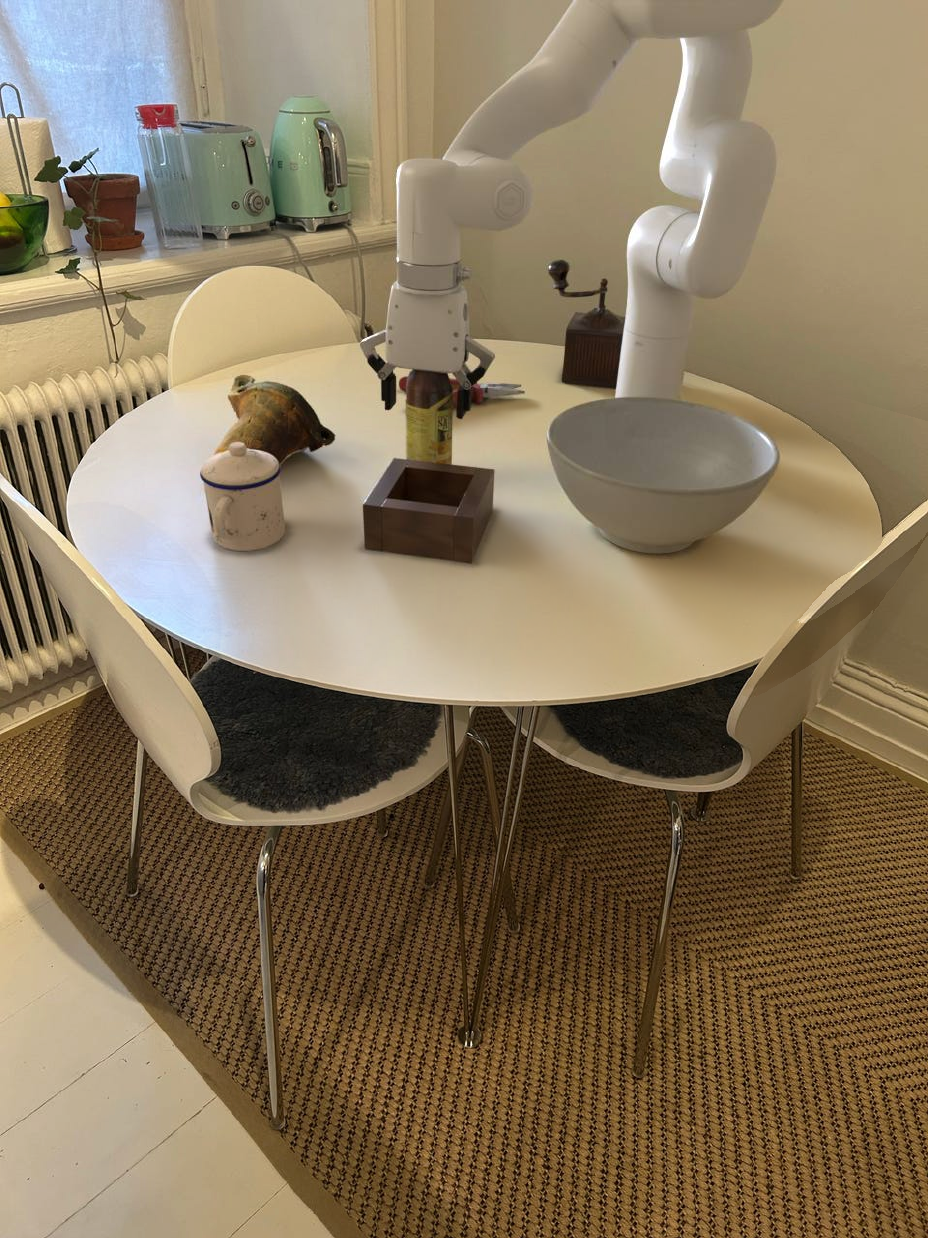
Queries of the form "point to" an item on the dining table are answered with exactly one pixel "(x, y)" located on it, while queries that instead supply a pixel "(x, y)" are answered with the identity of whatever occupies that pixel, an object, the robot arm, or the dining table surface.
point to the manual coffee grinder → (589, 337)
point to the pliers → (478, 389)
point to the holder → (429, 510)
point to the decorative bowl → (659, 468)
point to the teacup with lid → (244, 498)
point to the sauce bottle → (429, 417)
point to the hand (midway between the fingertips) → (425, 410)
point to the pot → (273, 420)
